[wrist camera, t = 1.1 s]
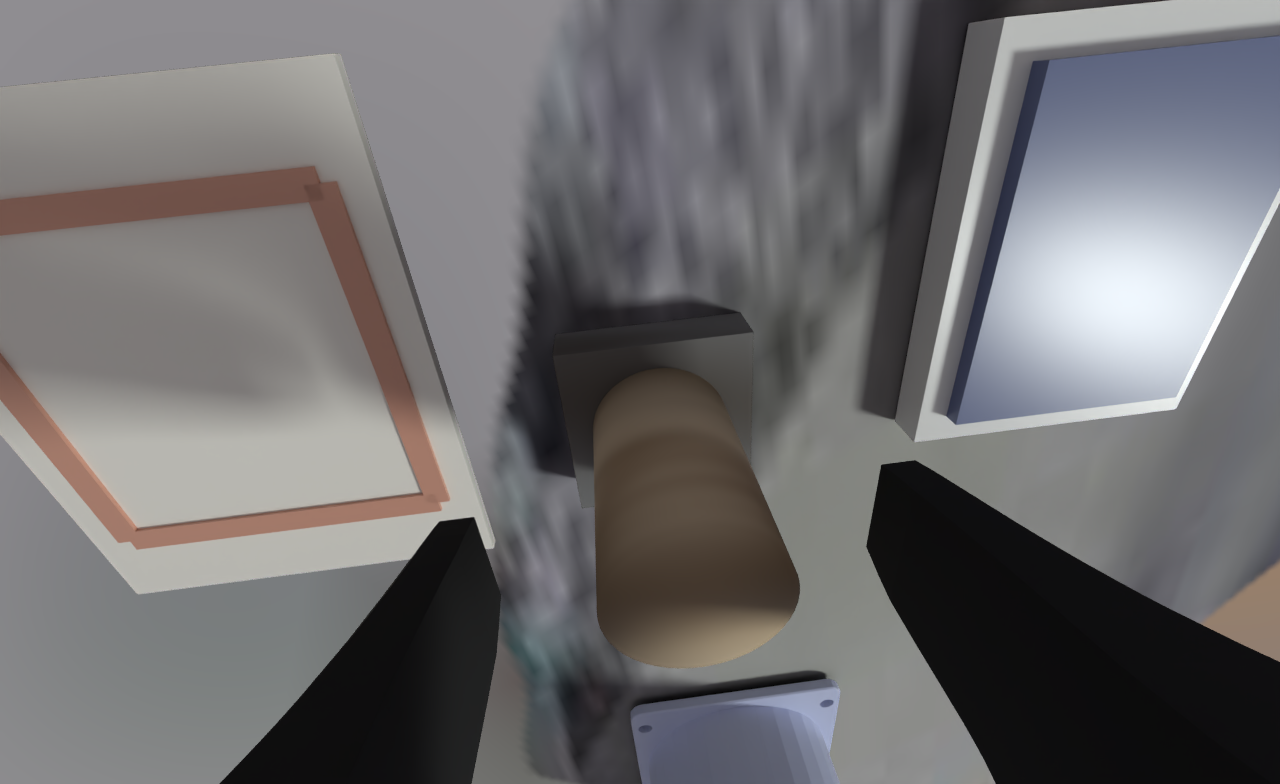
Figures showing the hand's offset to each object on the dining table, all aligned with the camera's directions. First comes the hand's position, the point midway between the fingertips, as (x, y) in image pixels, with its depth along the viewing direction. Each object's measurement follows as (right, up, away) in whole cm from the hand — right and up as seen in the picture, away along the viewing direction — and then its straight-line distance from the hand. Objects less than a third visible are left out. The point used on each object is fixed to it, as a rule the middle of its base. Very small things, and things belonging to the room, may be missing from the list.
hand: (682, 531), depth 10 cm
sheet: (-10, +3, +3) cm, 11 cm away
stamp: (0, +2, +4) cm, 5 cm away
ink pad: (+9, +6, +3) cm, 11 cm away
